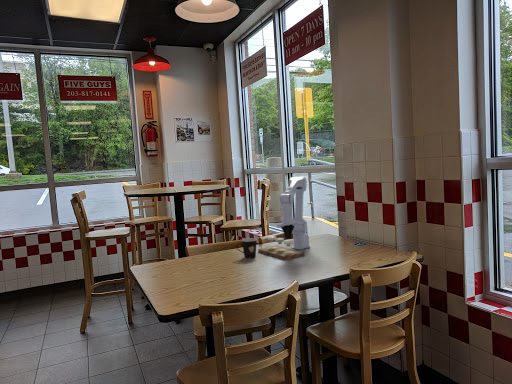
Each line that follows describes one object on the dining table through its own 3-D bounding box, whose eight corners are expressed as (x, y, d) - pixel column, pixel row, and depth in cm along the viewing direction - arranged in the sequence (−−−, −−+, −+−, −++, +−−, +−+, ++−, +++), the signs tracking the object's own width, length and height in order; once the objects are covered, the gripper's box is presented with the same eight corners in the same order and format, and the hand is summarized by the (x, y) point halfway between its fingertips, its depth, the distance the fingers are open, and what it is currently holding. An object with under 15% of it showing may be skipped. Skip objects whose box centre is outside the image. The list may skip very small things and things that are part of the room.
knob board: (276, 248, 239) (276, 245, 239) (304, 255, 217) (303, 251, 217) (258, 252, 231) (258, 248, 231) (284, 260, 209) (284, 256, 209)
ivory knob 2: (289, 244, 220) (289, 239, 220) (294, 246, 216) (294, 240, 216) (282, 246, 218) (282, 240, 217) (287, 247, 214) (287, 242, 213)
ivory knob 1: (272, 240, 234) (272, 235, 234) (277, 241, 230) (277, 237, 229) (266, 242, 231) (266, 237, 231) (271, 243, 227) (270, 238, 227)
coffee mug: (258, 254, 225) (257, 238, 224) (256, 258, 216) (255, 241, 215) (238, 255, 226) (237, 238, 225) (236, 259, 217) (235, 241, 216)
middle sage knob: (280, 242, 227) (280, 237, 227) (286, 243, 223) (285, 238, 223) (274, 243, 224) (273, 238, 224) (279, 245, 220) (279, 240, 220)
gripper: (291, 212, 223) (292, 235, 224) (272, 215, 214) (273, 239, 215) (300, 213, 218) (301, 237, 219) (281, 216, 209) (282, 241, 210)
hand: (288, 238), depth 217 cm, fingers closed
